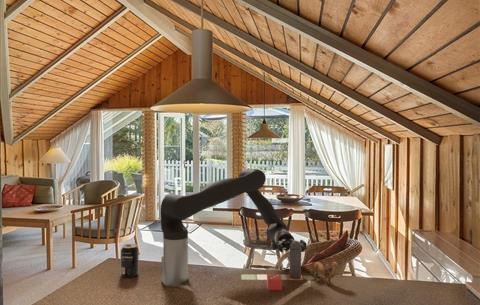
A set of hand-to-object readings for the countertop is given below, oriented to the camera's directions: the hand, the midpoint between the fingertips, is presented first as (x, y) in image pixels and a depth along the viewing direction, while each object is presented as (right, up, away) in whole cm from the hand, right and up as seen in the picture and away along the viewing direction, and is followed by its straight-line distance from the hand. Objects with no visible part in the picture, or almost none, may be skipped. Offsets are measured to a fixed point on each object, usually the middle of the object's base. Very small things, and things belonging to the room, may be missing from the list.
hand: (292, 249), depth 146 cm
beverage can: (-65, -10, 0) cm, 66 cm away
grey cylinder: (0, -9, -5) cm, 11 cm away
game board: (-9, -11, -5) cm, 15 cm away
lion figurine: (+11, -11, -6) cm, 17 cm away
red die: (-9, -11, -15) cm, 20 cm away
